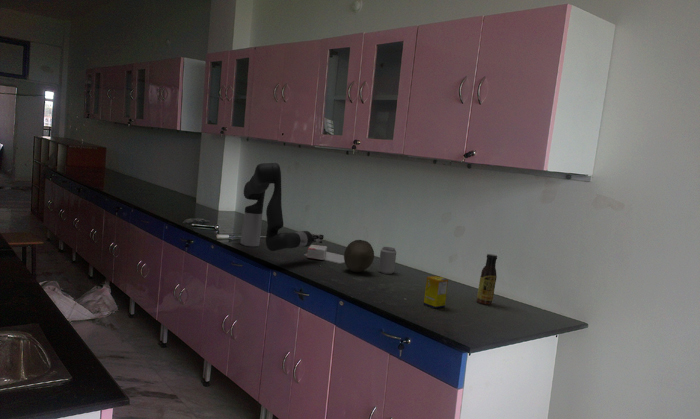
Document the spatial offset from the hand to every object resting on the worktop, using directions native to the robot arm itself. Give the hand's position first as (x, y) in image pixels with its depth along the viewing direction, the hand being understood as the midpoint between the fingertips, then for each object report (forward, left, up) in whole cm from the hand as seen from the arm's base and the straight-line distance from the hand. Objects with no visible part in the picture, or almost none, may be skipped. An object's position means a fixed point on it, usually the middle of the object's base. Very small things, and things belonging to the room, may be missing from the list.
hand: (322, 236), depth 266 cm
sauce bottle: (+86, -6, -12) cm, 87 cm away
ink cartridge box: (-1, -3, -8) cm, 9 cm away
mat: (0, +10, -12) cm, 16 cm away
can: (+34, +6, -12) cm, 37 cm away
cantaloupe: (+26, -6, -12) cm, 29 cm away
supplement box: (+74, -28, -12) cm, 80 cm away
